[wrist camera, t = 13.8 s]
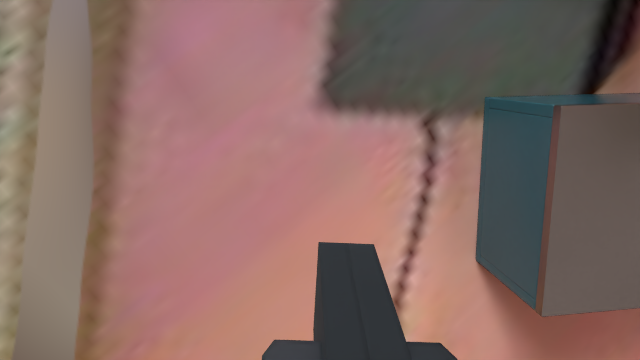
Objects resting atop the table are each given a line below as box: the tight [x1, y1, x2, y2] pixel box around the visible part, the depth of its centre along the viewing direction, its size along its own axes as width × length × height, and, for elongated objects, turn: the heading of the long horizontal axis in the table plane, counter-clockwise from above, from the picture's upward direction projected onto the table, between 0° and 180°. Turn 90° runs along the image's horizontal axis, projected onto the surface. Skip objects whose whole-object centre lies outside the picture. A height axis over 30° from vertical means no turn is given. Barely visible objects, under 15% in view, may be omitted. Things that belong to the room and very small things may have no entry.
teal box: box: [476, 93, 640, 310], centre depth 35 cm, size 15×14×9 cm
